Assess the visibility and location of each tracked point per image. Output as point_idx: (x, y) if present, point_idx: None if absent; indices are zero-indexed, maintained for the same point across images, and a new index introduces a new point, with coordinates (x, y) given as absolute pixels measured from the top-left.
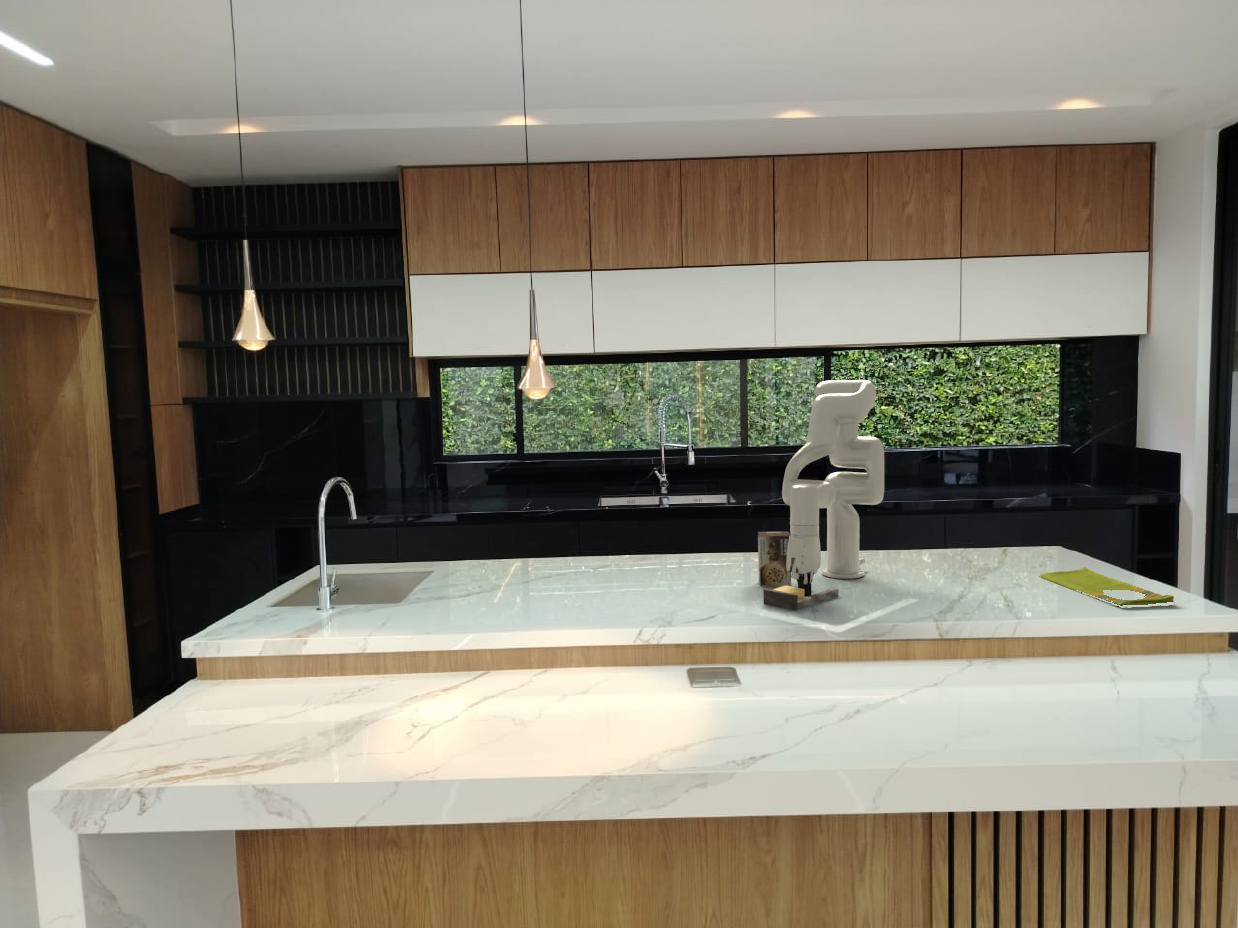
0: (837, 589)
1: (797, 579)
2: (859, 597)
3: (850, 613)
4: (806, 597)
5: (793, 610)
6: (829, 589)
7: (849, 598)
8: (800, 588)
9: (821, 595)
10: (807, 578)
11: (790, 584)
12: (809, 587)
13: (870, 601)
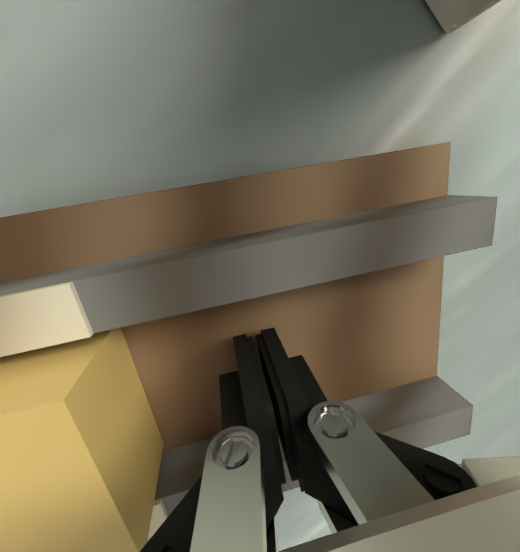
0: (459, 434)
1: (174, 529)
2: (513, 392)
3: (283, 539)
4: None
5: None
6: (428, 421)
7: (477, 383)
8: (126, 539)
9: (288, 484)
10: (333, 495)
11: (485, 3)
12: (284, 456)
13: (481, 452)
